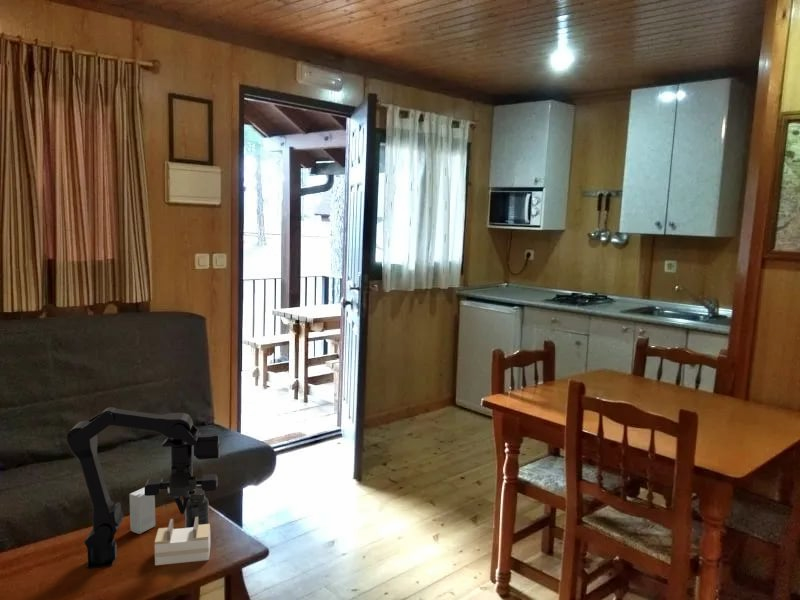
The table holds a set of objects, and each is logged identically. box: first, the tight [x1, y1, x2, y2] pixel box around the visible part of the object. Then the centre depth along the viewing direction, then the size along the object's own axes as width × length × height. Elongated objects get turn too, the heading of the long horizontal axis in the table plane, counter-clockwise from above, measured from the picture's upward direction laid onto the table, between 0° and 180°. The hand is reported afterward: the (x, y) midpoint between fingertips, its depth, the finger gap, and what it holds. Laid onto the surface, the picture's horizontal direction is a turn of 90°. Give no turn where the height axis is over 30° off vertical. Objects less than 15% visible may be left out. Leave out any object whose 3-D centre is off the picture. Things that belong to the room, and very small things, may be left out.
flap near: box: [154, 518, 175, 544], centre depth 171 cm, size 4×8×3 cm, turn 14°
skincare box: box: [128, 486, 156, 535], centre depth 187 cm, size 6×4×12 cm
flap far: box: [193, 517, 211, 540], centre depth 174 cm, size 4×8×3 cm, turn 14°
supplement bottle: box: [184, 487, 210, 528], centre depth 188 cm, size 7×7×12 cm
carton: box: [154, 527, 211, 566], centre depth 173 cm, size 14×8×6 cm, turn 104°
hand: (182, 513), depth 172 cm, fingers closed
